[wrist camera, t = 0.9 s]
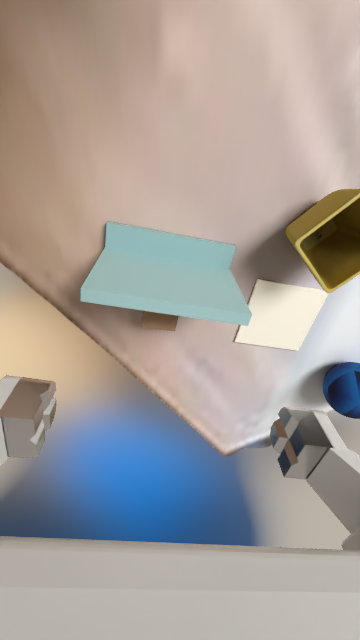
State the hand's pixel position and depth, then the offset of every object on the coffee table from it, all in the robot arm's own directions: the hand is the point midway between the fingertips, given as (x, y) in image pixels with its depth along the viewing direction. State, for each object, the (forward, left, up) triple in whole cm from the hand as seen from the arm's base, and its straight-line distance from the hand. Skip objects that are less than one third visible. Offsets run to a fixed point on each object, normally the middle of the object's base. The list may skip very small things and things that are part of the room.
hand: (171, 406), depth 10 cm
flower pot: (-2, +20, -33) cm, 39 cm away
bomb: (+23, +38, -33) cm, 55 cm away
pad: (+13, +21, -33) cm, 41 cm away
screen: (+5, +1, -33) cm, 33 cm away
